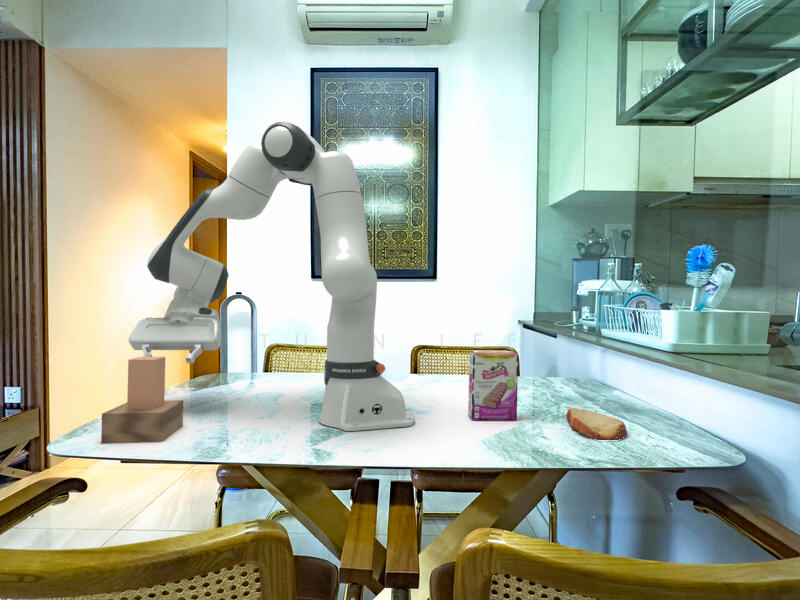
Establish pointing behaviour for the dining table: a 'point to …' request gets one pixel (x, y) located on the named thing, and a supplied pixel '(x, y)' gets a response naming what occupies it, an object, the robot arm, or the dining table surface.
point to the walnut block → (142, 423)
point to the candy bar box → (493, 385)
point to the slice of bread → (596, 425)
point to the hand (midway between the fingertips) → (167, 361)
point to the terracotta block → (146, 383)
